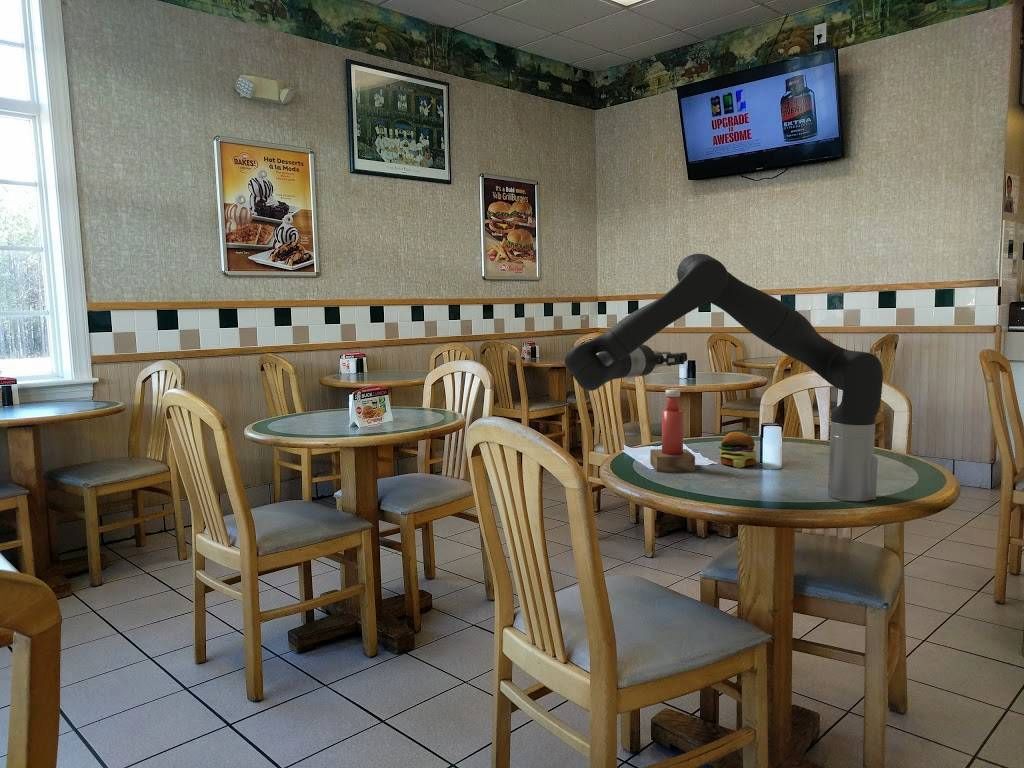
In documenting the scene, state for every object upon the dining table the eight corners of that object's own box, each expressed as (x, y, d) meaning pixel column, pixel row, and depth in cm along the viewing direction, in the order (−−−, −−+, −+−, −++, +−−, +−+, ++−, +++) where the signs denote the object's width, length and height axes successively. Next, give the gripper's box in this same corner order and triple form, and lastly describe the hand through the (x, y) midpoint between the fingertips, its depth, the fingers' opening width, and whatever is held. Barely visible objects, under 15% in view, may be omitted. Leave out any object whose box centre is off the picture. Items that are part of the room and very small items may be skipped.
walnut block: (686, 463, 209) (686, 449, 209) (694, 471, 199) (695, 456, 199) (650, 463, 209) (650, 449, 209) (656, 471, 199) (657, 456, 199)
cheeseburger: (719, 467, 203) (719, 430, 205) (717, 468, 214) (717, 433, 215) (758, 468, 201) (758, 431, 203) (755, 469, 211) (754, 434, 213)
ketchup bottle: (680, 450, 207) (681, 389, 205) (685, 454, 201) (685, 391, 199) (659, 451, 207) (660, 389, 205) (664, 455, 201) (664, 391, 199)
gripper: (656, 346, 173) (695, 341, 184) (607, 345, 183) (647, 340, 194) (657, 378, 174) (695, 372, 185) (608, 375, 184) (647, 369, 195)
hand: (671, 356), depth 189 cm, fingers open, 8 cm apart
